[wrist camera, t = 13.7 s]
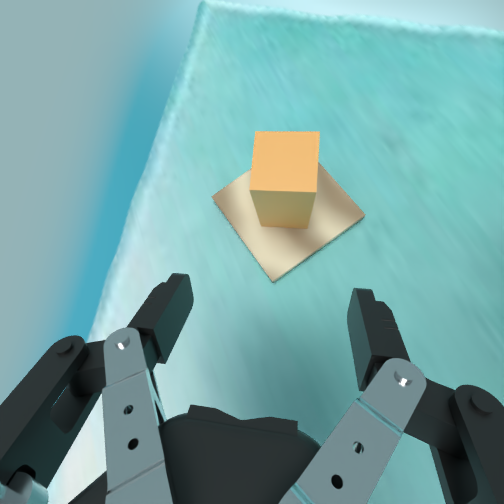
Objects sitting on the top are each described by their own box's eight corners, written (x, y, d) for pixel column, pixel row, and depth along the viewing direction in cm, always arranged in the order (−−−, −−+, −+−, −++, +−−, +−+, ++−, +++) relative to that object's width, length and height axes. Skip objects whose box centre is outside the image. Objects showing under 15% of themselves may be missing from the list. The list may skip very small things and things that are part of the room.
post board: (295, 143, 35) (297, 100, 28) (362, 219, 32) (384, 192, 25) (214, 201, 35) (195, 172, 27) (273, 283, 32) (268, 275, 24)
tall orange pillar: (310, 185, 32) (319, 131, 22) (307, 228, 31) (316, 192, 21) (265, 184, 33) (255, 131, 23) (261, 226, 32) (249, 189, 22)
